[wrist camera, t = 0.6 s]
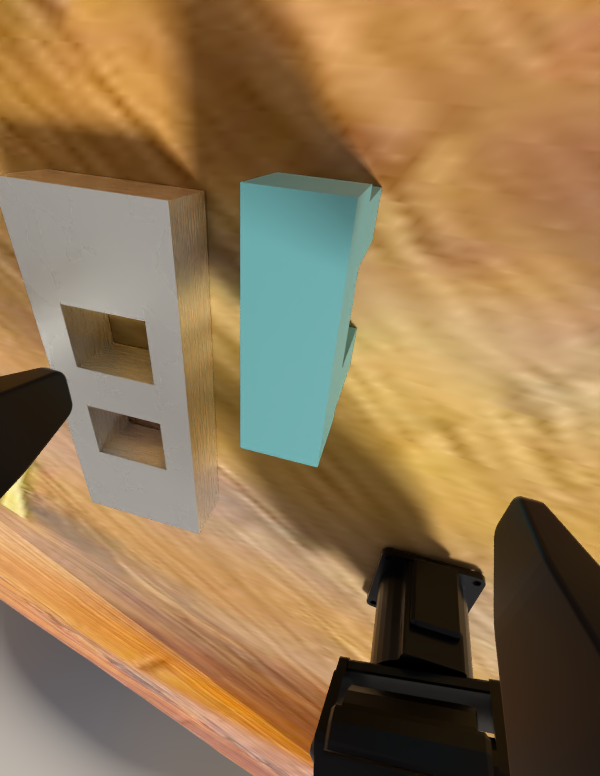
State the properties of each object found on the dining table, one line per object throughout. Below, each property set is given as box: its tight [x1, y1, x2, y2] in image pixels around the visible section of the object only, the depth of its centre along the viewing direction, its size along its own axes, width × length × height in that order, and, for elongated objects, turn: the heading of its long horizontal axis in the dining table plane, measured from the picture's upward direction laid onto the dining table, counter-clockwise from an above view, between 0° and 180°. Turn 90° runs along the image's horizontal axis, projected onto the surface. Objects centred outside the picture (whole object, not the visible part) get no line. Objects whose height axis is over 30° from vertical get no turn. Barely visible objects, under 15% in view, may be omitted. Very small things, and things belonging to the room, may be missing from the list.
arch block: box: [240, 172, 382, 467], centre depth 15 cm, size 9×3×7 cm, turn 175°
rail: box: [0, 169, 219, 534], centre depth 22 cm, size 20×8×3 cm, turn 175°
